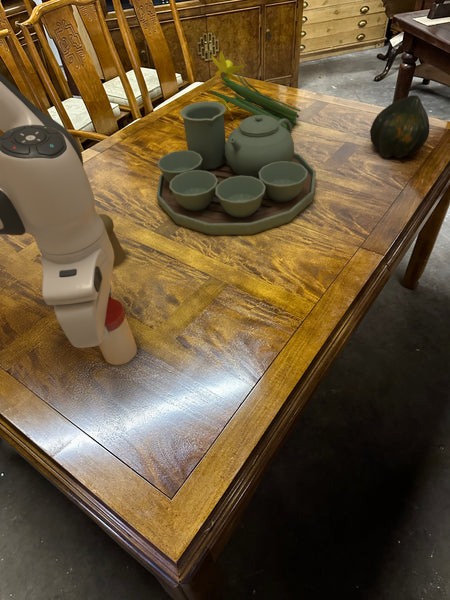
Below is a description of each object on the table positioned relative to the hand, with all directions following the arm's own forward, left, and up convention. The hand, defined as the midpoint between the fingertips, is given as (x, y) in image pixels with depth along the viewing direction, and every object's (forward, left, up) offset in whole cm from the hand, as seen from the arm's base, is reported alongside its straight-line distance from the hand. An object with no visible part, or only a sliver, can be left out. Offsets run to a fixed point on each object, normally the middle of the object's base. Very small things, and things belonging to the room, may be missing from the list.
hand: (106, 318), depth 67 cm
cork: (-4, +26, -9) cm, 28 cm away
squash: (+71, +59, -9) cm, 93 cm away
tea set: (+26, +48, -9) cm, 55 cm away
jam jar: (0, 0, -9) cm, 9 cm away
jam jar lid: (0, 0, +1) cm, 1 cm away
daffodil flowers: (+36, +90, -9) cm, 98 cm away
